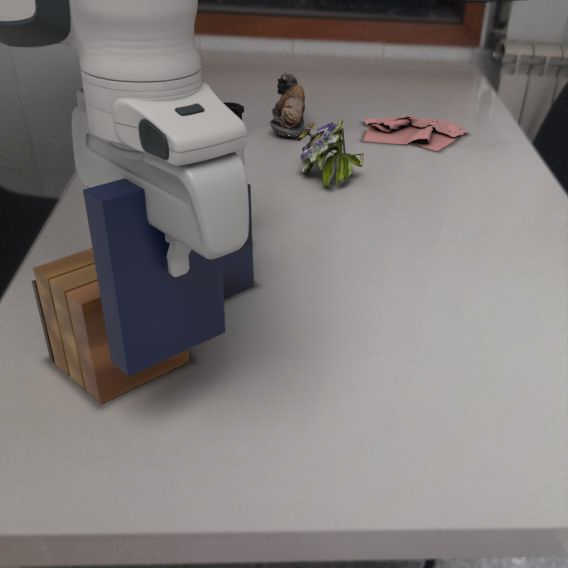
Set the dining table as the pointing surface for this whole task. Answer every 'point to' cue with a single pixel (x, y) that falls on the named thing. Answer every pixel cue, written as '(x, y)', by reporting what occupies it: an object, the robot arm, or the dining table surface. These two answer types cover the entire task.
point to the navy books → (239, 264)
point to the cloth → (413, 132)
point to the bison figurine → (289, 107)
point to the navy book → (147, 283)
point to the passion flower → (326, 143)
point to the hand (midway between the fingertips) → (161, 263)
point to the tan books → (84, 328)
